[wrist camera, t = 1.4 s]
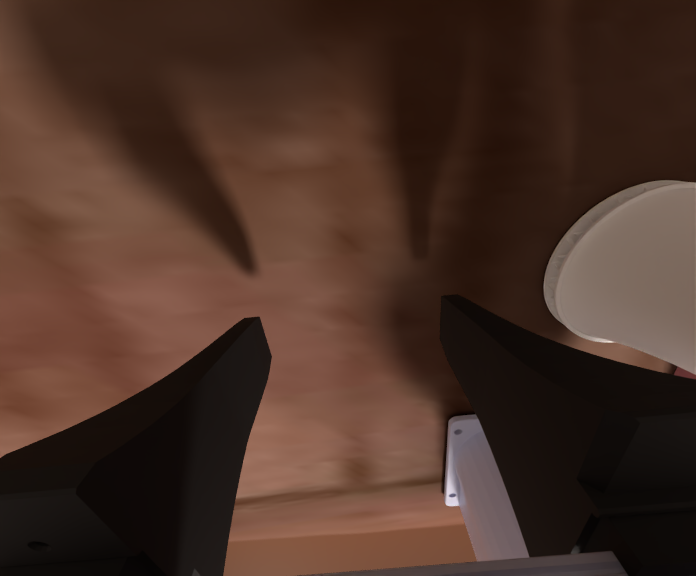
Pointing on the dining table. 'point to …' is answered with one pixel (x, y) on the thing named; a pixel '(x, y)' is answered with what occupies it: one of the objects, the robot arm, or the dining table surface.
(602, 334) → the vase
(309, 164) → the dining table surface
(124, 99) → the dining table surface
